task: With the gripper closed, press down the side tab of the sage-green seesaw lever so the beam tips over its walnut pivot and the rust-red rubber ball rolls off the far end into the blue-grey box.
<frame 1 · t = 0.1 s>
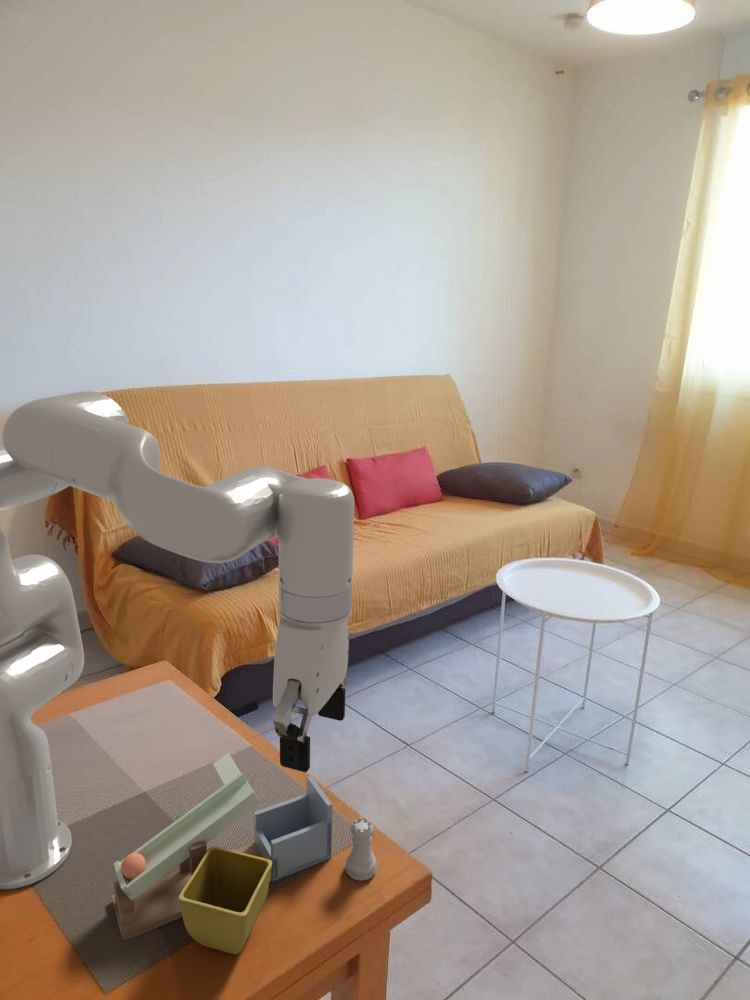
hand: (314, 741, 79), 31 cm above the table, tool pointing down, fingers open, 9 cm apart
lever: (191, 836, 95), point 9 cm above the table, hinge at 25.0°, touching ball
blue-grey box: (292, 852, 104), on the table
flower pot: (227, 936, 91), on the table, touching catapult base
rook chess piece: (360, 871, 102), on the table
ball: (133, 866, 91), point 8 cm above the table, tilted 17°, touching lever
catapult base: (194, 891, 97), on the table
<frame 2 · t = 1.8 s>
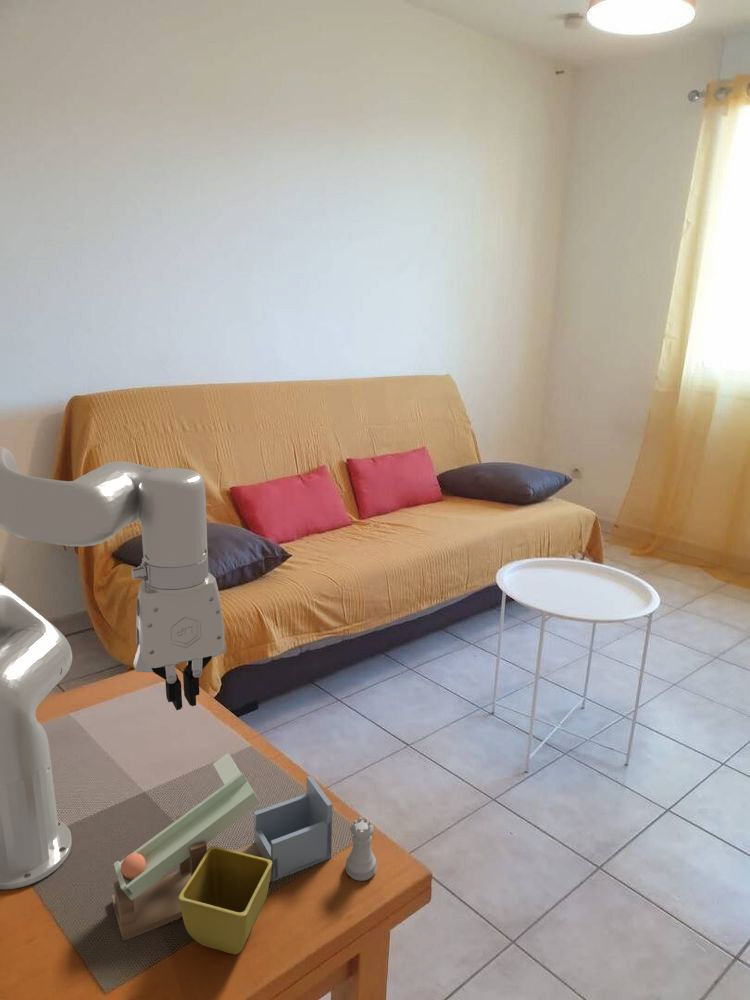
hand: (183, 701, 92), 27 cm above the table, tool pointing down, fingers closed
nothing on the table moved.
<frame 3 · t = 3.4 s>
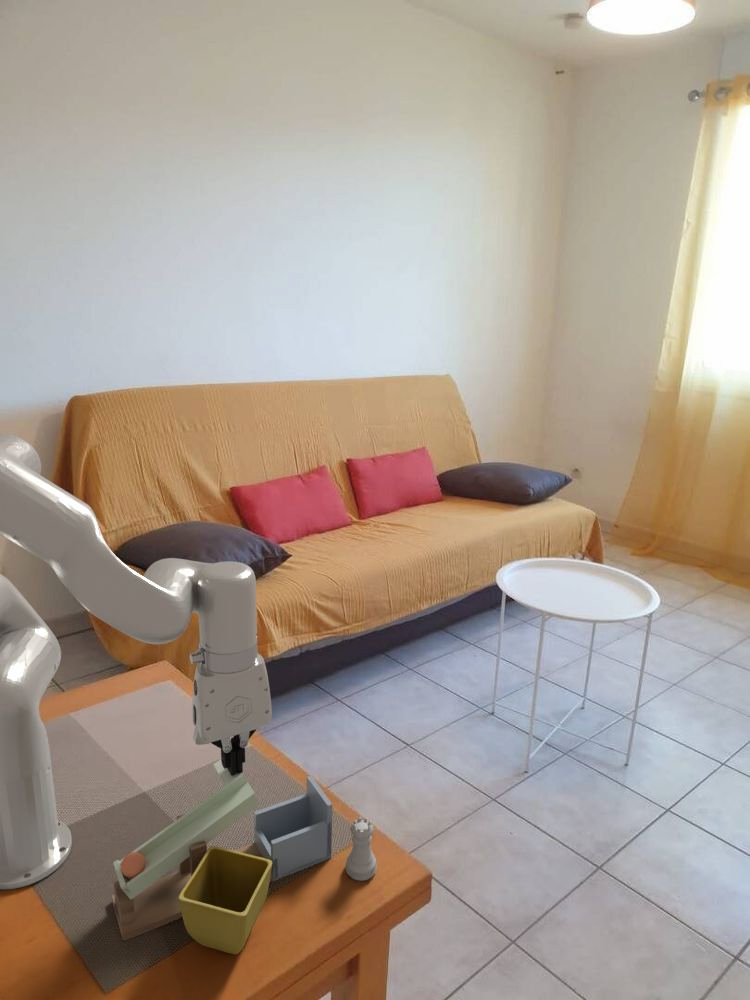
hand: (233, 768, 102), 13 cm above the table, tool pointing down, fingers closed
lever: (191, 836, 95), point 9 cm above the table, hinge at 23.7°, touching ball, gripper
everything else where it was.
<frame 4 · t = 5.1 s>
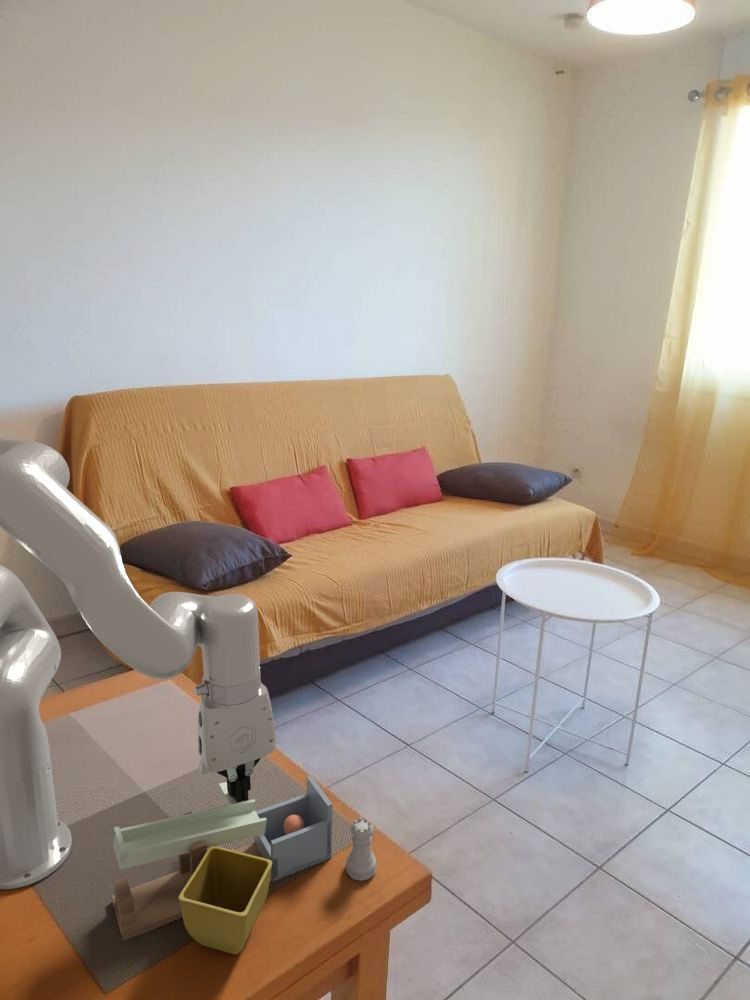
hand: (239, 796, 103), 8 cm above the table, tool pointing down, fingers closed
lever: (191, 836, 95), point 9 cm above the table, hinge at -7.7°, touching gripper
ball: (293, 826, 103), point 5 cm above the table, tilted 140°
everything else where it was.
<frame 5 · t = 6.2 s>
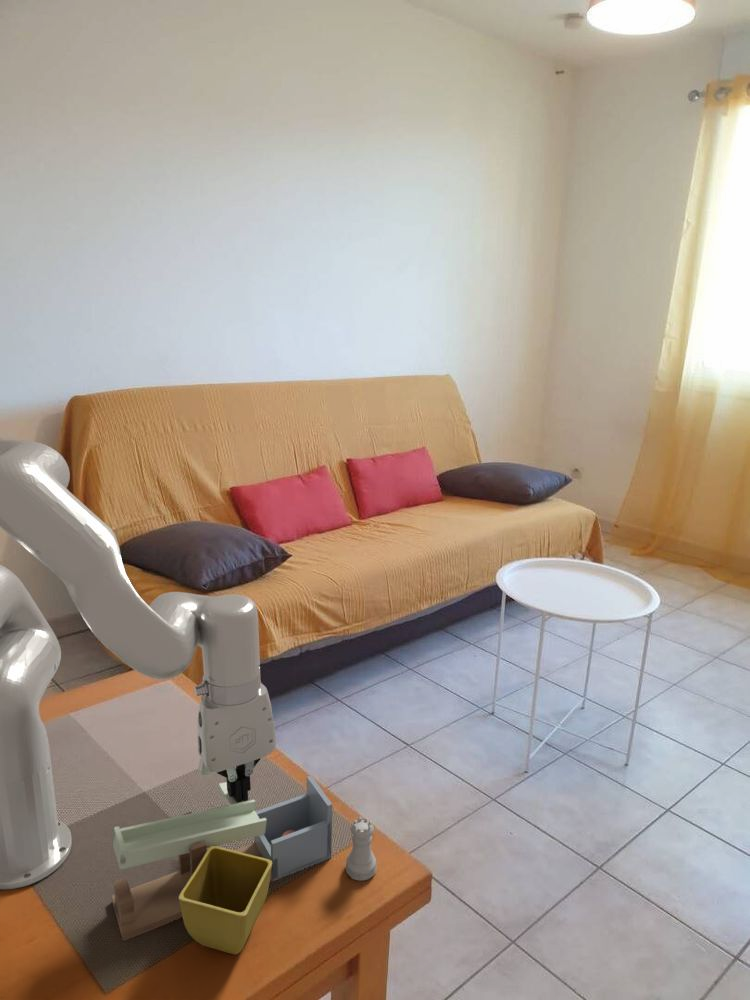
hand: (239, 796, 103), 8 cm above the table, tool pointing down, fingers closed
ball: (290, 841, 103), point 2 cm above the table, tilted 159°, touching blue-grey box
everything else where it was.
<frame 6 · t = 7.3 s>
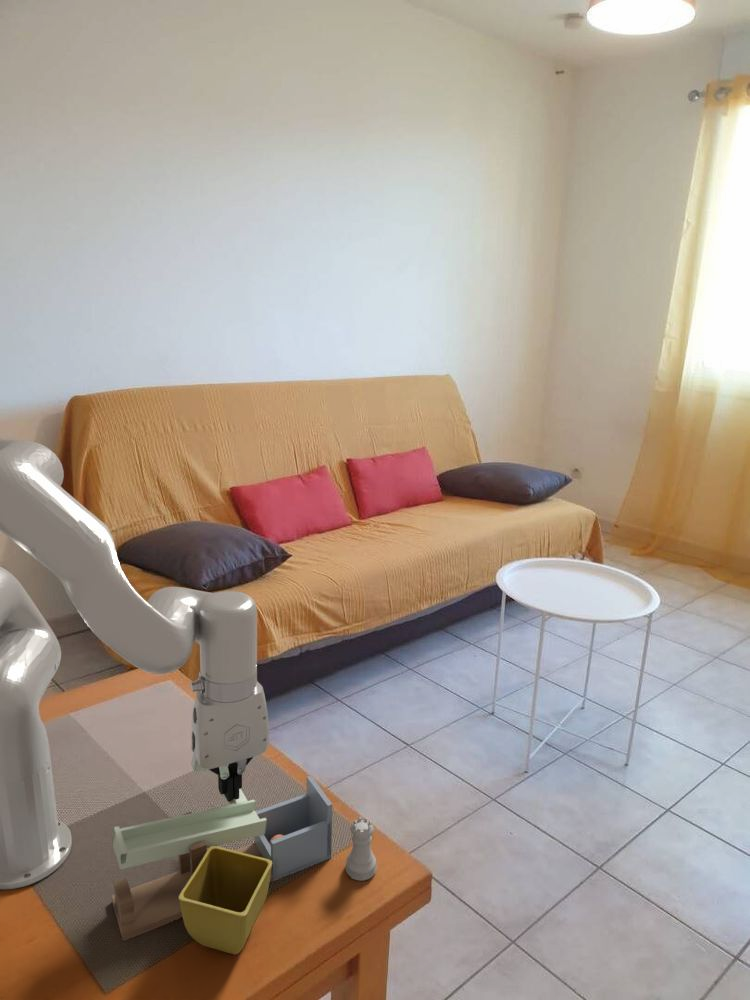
hand: (230, 794, 103), 9 cm above the table, tool pointing down, fingers closed
lever: (191, 836, 95), point 9 cm above the table, hinge at -7.9°
ball: (279, 846, 103), point 2 cm above the table, tilted 93°, touching blue-grey box
everything else where it was.
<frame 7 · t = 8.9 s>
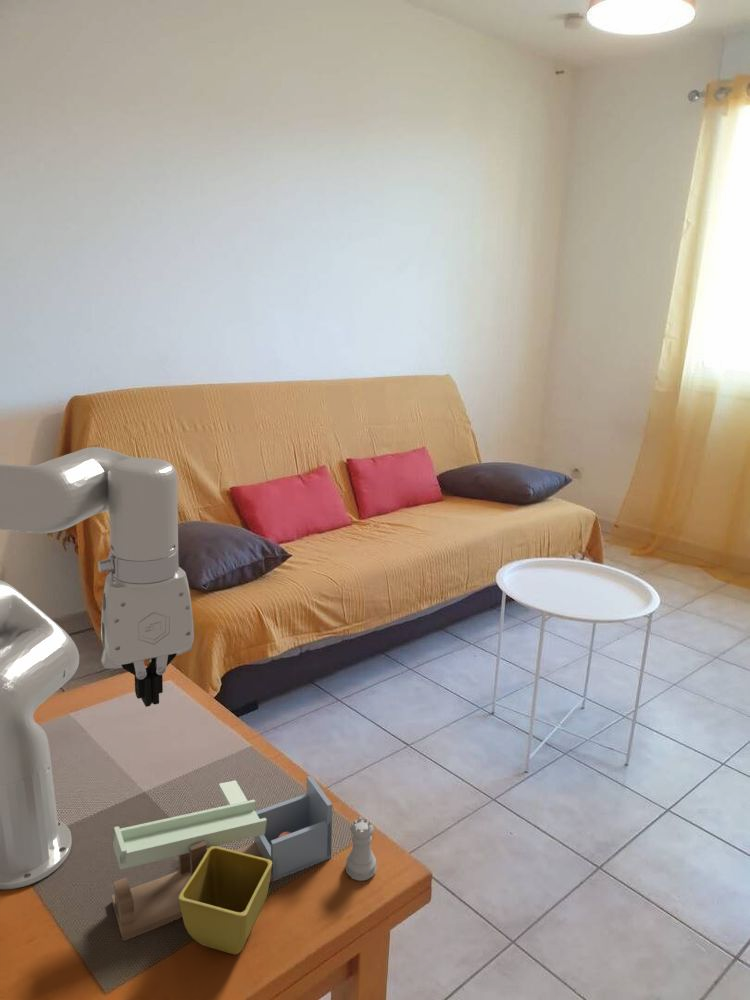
hand: (149, 699, 90), 29 cm above the table, tool pointing down, fingers closed
ball: (286, 843, 103), point 2 cm above the table, tilted 138°, touching blue-grey box
everything else where it was.
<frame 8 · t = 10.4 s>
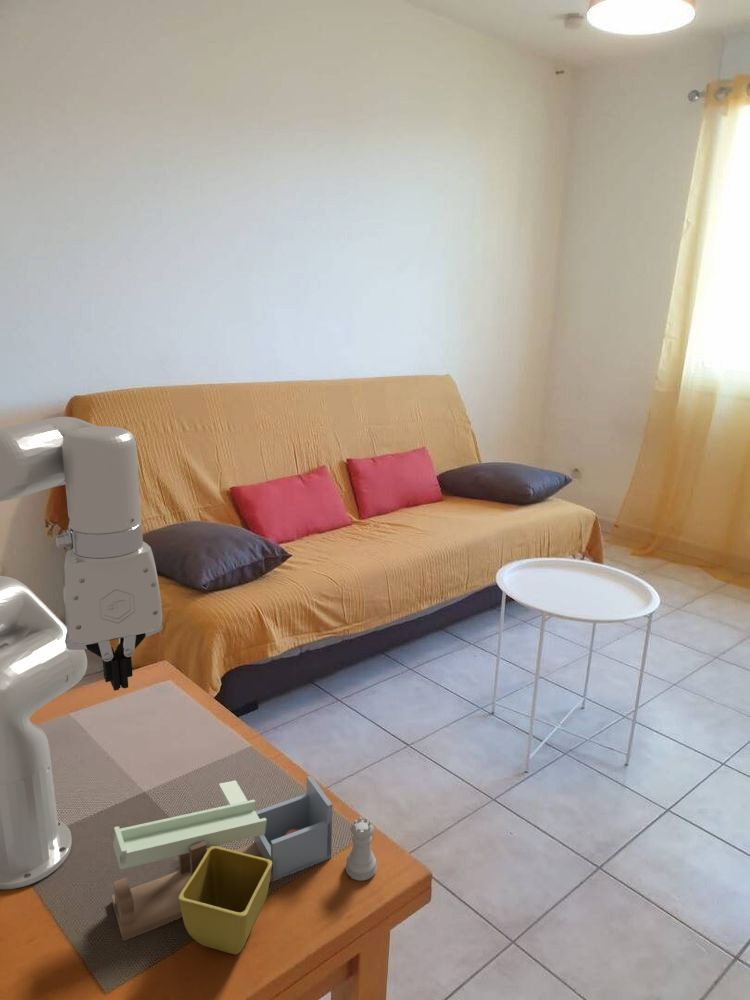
hand: (118, 683, 85), 33 cm above the table, tool pointing down, fingers closed
ball: (293, 840, 104), point 2 cm above the table, tilted 180°, touching blue-grey box
everything else where it was.
at the end: ball 0.3 cm off-centre on the blue-grey box, point 2.1 cm above the blue-grey box's base; ball touching blue-grey box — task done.
